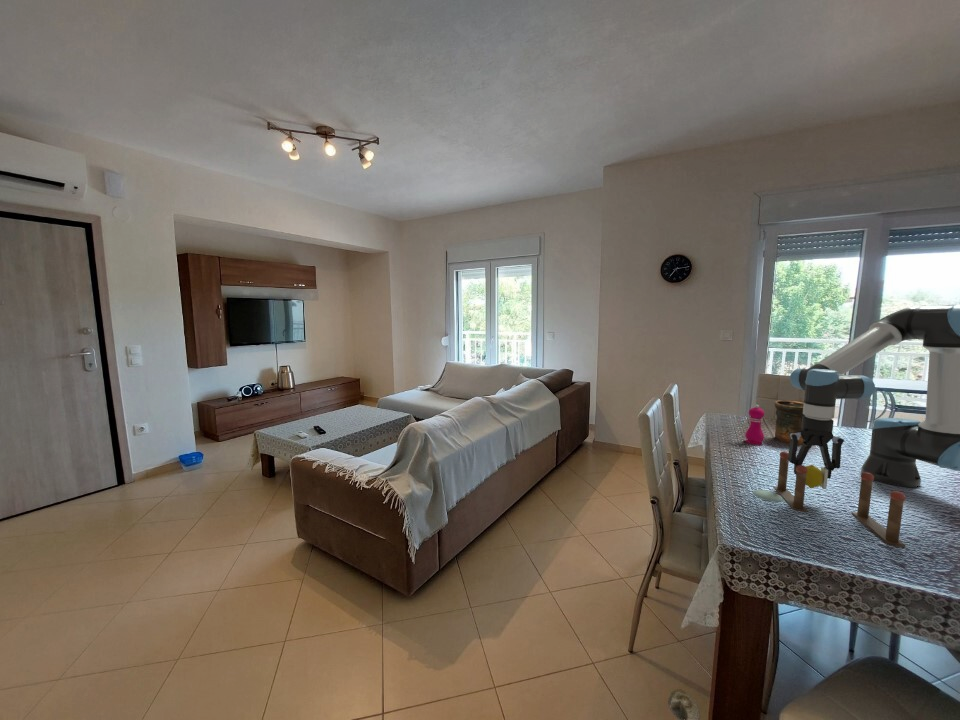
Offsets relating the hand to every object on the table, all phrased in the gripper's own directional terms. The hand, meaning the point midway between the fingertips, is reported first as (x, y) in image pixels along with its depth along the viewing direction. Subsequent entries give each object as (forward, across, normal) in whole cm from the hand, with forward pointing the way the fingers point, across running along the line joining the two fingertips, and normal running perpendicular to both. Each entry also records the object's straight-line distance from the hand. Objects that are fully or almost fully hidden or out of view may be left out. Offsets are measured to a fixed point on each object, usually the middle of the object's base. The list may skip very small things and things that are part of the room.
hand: (810, 485), depth 123 cm
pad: (+6, +11, 0) cm, 13 cm away
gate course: (+6, -3, +6) cm, 9 cm away
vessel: (+6, -19, -69) cm, 72 cm away
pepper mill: (+6, -2, -60) cm, 60 cm away
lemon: (+1, 0, 0) cm, 1 cm away
